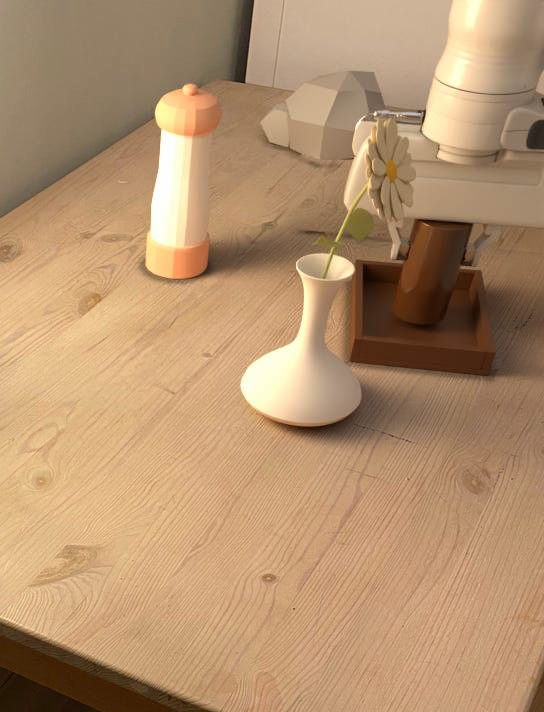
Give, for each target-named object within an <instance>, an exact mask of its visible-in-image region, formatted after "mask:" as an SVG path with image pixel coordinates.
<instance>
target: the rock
mask: <svg viewBox="0 0 544 712" xmlns="http://www.w3.org/2000/svg"><path fill="white" fill-rule="evenodd" d="M376 108H386V104H385V101H384V98H383V94H382V91H381V88H380V85H379V83H378V80H377V77H376V74H375V72H374V71H365V70H344V71H338V72H333V73H326V74H320V75H318V76H315V77H314V78H312V79H309V80H307V81H306V82H305V83H303V84H302V85H301V86H300V87H299V88H298V89H296V90H295V91H294V92H293V93H292V94H291V95H290V96H288V97H287V98H286V99H285V102H281V103H277V104H275V105H274V106H273V107H272V108H271V109H270V110H269V111H268V112H267V113H266V114H265V115H264V116H263V118H262V119H261V120H260V122H259V123H260V125H261V127H262V129H263V132H264V134H265V135H266V138H267V139H268V142H269V143H271V144H274V145H278V146H281V147H285V148H289V149H290V150H293V151H295V152H297V153H299V154H303V155H305V156H308V157H311V158H313V159H316V160H318V161H335V160H336V161H337V160H338V161H340V160H348V159H349V160H350V159H354V157H355V156H354V154H353V152H352V149H351V143H352V138H353V133H354V128H355V126H356V124H357V122H358V121H359V119H360V118H361V117H363V116H364V115H366V114H368V113H371V112H374V111H375V109H376ZM368 119H370V120H373V117H370V118H368Z"/></svg>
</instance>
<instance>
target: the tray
mask: <svg viewBox="0 0 544 712" xmlns="http://www.w3.org/2000/svg"><path fill="white" fill-rule="evenodd" d="M353 265H354V267H355V272H354V274H353V275H352V276H351V279H350V305H349V306H350V308H349V311H350V312H349V349H348V351H349V355H348V357H349V358H348V361H349V362H351V363H363V364H369V365H380V366H390V367H399V368H400V367H401V368H409V369H410V368H411V369H419V370H429V371H438V372H449V373H458V374H459V373H460V374H469V375H477V376H489V373H490V370H491V367H492V364H493V362H494V358H495V356H496V354H497V351H496V345H495V340H494V335H493V329H492V328H493V327H492V323H491V317H490V313H489V307H488V300H487V295H486V289H485V283H484V277H483V271H482V270H481V269H470V268H468V269H467V268H460V271H459V274H458V277H457V280H456V283H455V287H454V290H453V293H452V296H451V300H450V303H449V306H448V309H447V313H446V316H445V318H444V319H443V320H442V321H440V322H438V323H435V324H428V325H421V324H414V323H409V322H406V321H404V320H401V319H399V318H398V317H396V316H395V315H394V314H393V312H392V309H391V307H392V303H393V299H394V295H395V291H396V288H397V284H398V280H399V276H400V272H401V269H402V265H403V262H401V263H400V262H389V261H378V260H377V261H376V260H368V259H367V260H366V259H355V262H354V264H353Z"/></svg>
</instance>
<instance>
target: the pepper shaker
mask: <svg viewBox="0 0 544 712" xmlns="http://www.w3.org/2000/svg"><path fill="white" fill-rule="evenodd" d="M222 113H223V112H222V106H221V103H220V101H219V99H218V98H217V97H216V95H214V94H212V93H210V92H209V91H206V90H203V89H200V88H198V86H197V84H195V83H186V84H184V85H183V87H182V88H179V89H175V90H173V91H170V92H168V93H166V94H164V95H162V97H161V98H160V100H159V101H158V103H157V104H156V107H155V111H154V117H155V121H156V124H157V126H158V127H159V128H160V130H161V131H160V132H161V134H160V145H159V146H160V149H159V163H158V171H157V176H156V181H155V185H154V189H153V194H152V199H151V200H152V201H151V210H150V211H151V215H150V218H151V219H150V229H149V231H148V232H147V233H146V248H145V249H146V250H145V267H146V269H147V270H148V271H149V272H151V273H152V274H154V275H156V276H159V277H162V278H167V279H172V280H173V279H175V280H177V279H178V280H179V279H180V280H183V279H189V278H194V277H196V276H200V275H201V274H203V273H204V272H205V271H206V269H207V268H208V261H209V252H210V243H211V238H210V237H211V236H210V233H209V231H208V230H209V229H208V228H209V222H210V214H211V185H210V164H211V162H210V161H211V152H212V144H213V143H212V141H213V131H215V130H216V129H217V128H218V126H219V125H220V122H221V120H222V117H223V114H222Z"/></svg>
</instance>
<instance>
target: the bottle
mask: <svg viewBox="0 0 544 712" xmlns="http://www.w3.org/2000/svg"><path fill="white" fill-rule="evenodd" d="M474 225H475V223H463V222H450V221H437V220H425V219H413V223H412V227H411V231H410V235H409V237H408V238H409V244H410V246H409V250H408V252H407V258H406V261H402V264H403V265H402V269H401V272H400V276H399V280H398V284H397V288H396V291H395V295H394V299H393V303H392V307H391V309H392V312H393V314H394V315H395V316H396V317H398V318H399V319H401V320H404V321H406V322H409V323H414V324H421V325H428V324H435V323H438V322H440V321H442V320H443V319H444V318H445V316H446V313H447V309H448V306H449V303H450V300H451V296H452V293H453V290H454V287H455V283H456V280H457V277H458V274H459V271H460V269H461V268H462V266H461V264H462V261H463V258H464V254H465V251H466V248H467V245H468V243H469V241H470V238H471V234H472V231H473V229H474Z"/></svg>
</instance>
